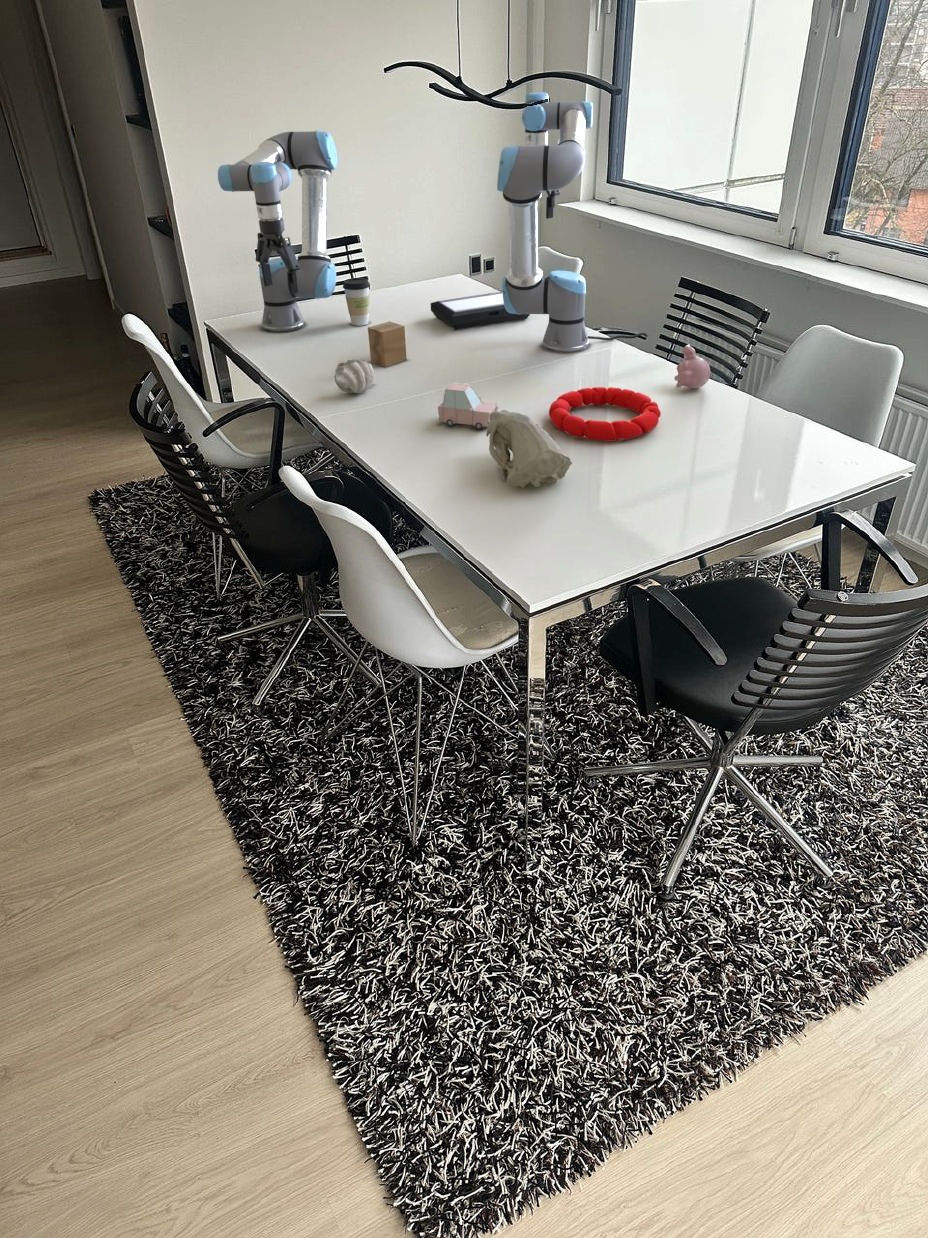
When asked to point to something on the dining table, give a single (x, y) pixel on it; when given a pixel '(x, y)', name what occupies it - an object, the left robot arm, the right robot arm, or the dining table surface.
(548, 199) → the right robot arm
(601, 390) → the decorative ring
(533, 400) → the dining table surface
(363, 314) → the coffee cup
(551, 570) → the dining table surface
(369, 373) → the seashell
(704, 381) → the figurine
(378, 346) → the brown wooden block
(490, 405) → the toy car
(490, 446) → the animal skull
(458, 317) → the electronic device
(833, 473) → the dining table surface
